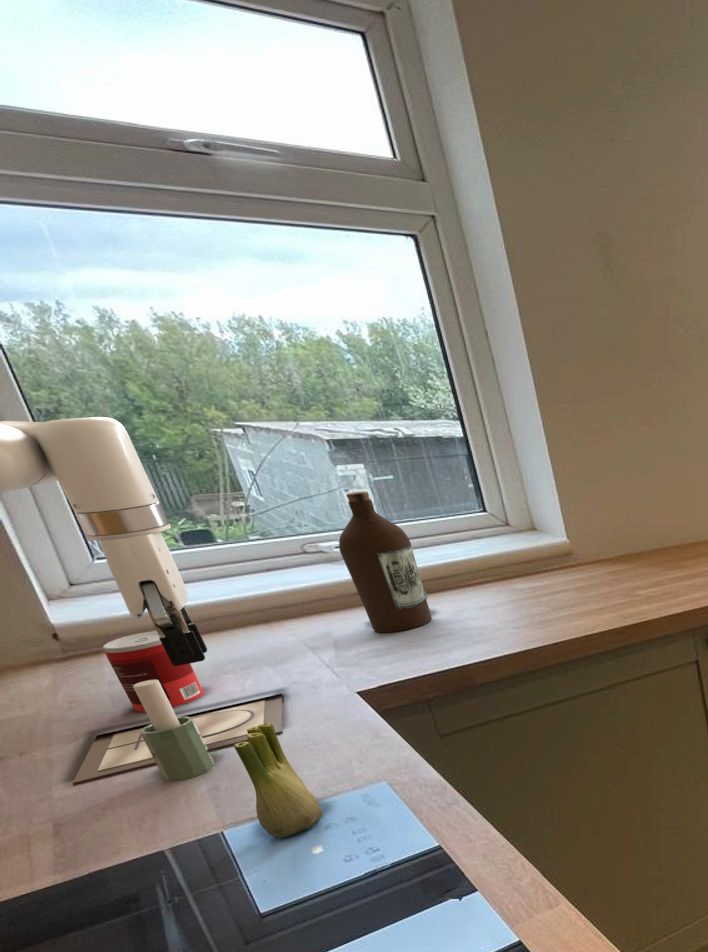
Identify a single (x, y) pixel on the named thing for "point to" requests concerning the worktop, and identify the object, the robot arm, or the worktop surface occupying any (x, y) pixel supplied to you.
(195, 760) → the pen cup
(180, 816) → the worktop surface
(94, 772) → the framed abstract picture
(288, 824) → the fennel bulb
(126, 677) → the canned food
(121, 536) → the robot arm
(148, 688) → the cylinder
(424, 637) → the worktop surface
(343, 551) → the brown stoneware bottle
